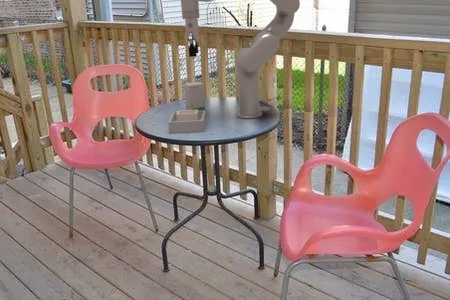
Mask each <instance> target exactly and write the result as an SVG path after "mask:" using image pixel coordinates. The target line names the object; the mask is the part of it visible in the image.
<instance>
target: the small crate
mask: <svg viewBox="0 0 450 300" xmlns="http://www.w3.org/2000/svg"><path fill="white" fill-rule="evenodd" d="M176 112H177V114H176V116H177V121H197V120H199V118H198V110H186V109H184V110H183V109H182V110H177V111H176Z"/></svg>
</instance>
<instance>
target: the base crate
mask: <svg viewBox="0 0 450 300" xmlns="http://www.w3.org/2000/svg"><path fill="white" fill-rule="evenodd" d="M177 112H178V111H173V112H172V113H171V116H170V117H169V120H168V122H167V123H168V132H169V134H181V133H182V134H183V133H185V134H186V133H204V132H205V126H206V123H207V111H206V112H205V111H198V118H199V120H197V121H177V116H176V114H177Z"/></svg>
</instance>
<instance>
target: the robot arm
mask: <svg viewBox="0 0 450 300" xmlns="http://www.w3.org/2000/svg"><path fill="white" fill-rule="evenodd" d="M211 1H214V0H180V7H181V17H182V20H184V21H185V33H186V34H185V35H186V41H187V43H188V56H189V57H190V58H191V57H193V58H194V57H197V55H198V53H199V44H198V42H199V41H200V40H201V39H200V29H199V21H198V20H199V19H200V5H199V2H203V3H208V2H211ZM269 1H270V2H271V3H272V4H273V5H274V6H275V8H276V13H275V16H274V18H272V20H271V21H270V22H269V23H268V24H267V25H266V26H265V27H264V28H263V29H262V30H261V31H260V32H258V33H257V35H256V36H255V38H254V43H253V44H252V45H251V46H249V47H243V48H241V49H240V50H239V51H238V52H237V54H236V69H237V83H238V84H237V87H238V91H237V92H238V107H239V110H238V111H237V112H236V117H237V118H240V119H246V120H247V119H248V120H249V119H256V118H260V117H262V116H263V112H269V111H270V107H269V106H265V105H264V106H261V105H260V88H259V87H260V85H259V80H260V79H259V69H260V68H261V67H262V66H264V65H265V63H267V62H268V61H269V60H270V59H271V58H272V57H273V56H274V55H275V53H276V52H278V50H279V47H280V40H281V39H282V38H283V37H284V36H285V35H286V34H287V33H288V31H289V30H290V29H291V27H292V25H293V23H294V19H295V13H297V12H298V10H299V9H300V6H301V3H300V2H301V1H300V0H269Z"/></svg>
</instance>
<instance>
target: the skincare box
mask: <svg viewBox="0 0 450 300" xmlns="http://www.w3.org/2000/svg"><path fill="white" fill-rule="evenodd" d="M183 86H184V96H185V97H184V98H185V99H184V100H185V110H198V111H205V112H206V113H207V109H206V95H205V94H206V93H205V91H206V89H205V84H204V83H203V82H200V81H198V82H197V81H196V82H187V83H184V85H183Z"/></svg>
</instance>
